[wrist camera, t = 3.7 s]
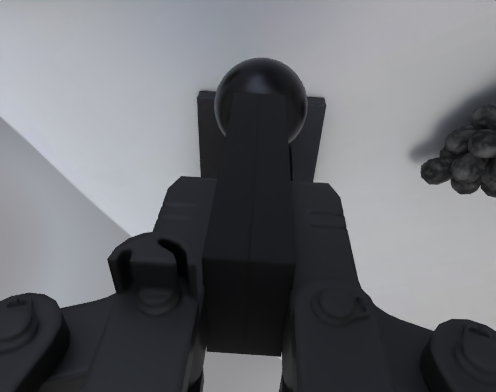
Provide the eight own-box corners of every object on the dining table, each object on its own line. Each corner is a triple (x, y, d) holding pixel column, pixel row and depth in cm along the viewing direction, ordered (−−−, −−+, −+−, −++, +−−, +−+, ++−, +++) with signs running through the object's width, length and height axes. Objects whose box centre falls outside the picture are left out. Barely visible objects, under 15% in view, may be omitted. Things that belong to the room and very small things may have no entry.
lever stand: (199, 90, 28) (157, 201, 18) (324, 97, 28) (352, 213, 18) (204, 216, 35) (177, 344, 25) (303, 222, 35) (315, 354, 25)
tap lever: (217, 35, 13) (205, 96, 11) (312, 41, 13) (316, 103, 11) (227, 251, 25) (222, 299, 23) (276, 255, 25) (276, 302, 23)
